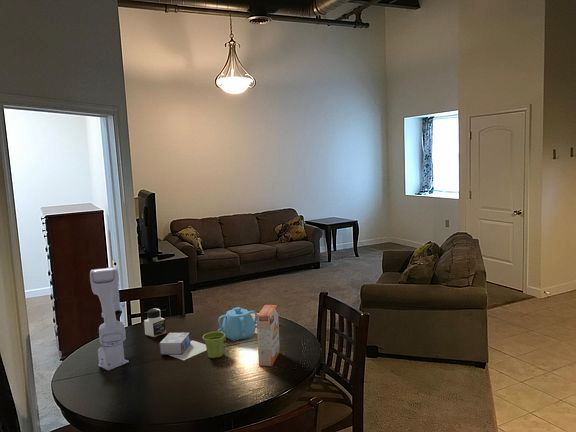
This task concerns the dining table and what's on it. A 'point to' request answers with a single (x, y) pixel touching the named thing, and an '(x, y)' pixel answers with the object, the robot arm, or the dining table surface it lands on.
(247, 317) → the light blue teapot
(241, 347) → the dining table surface
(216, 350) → the plant pot
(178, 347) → the ink cartridge box
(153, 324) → the medicine bottle
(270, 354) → the cracker box
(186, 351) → the mat
